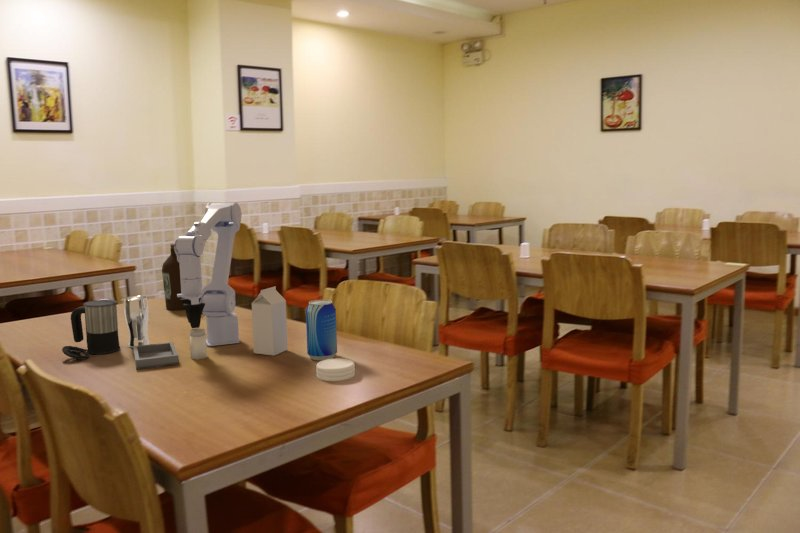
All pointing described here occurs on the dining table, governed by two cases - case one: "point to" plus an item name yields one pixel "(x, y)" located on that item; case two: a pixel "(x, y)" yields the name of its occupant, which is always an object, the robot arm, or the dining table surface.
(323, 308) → the beer can
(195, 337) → the salt shaker
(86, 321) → the milk frother
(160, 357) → the tray
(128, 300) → the beer glass
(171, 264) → the olive oil
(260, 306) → the milk carton
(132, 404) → the dining table surface
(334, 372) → the white round container
